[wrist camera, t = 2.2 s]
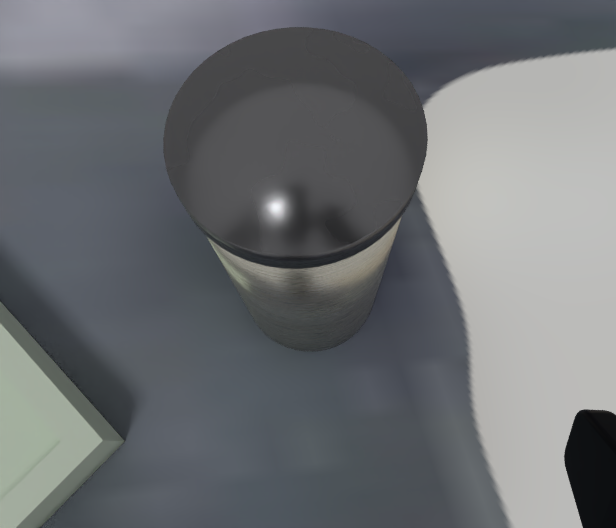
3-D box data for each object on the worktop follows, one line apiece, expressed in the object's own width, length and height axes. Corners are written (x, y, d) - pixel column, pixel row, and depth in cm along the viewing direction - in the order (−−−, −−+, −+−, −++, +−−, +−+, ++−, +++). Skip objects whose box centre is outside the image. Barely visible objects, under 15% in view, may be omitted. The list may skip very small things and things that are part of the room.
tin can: (405, 283, 21) (482, 122, 11) (314, 383, 20) (300, 313, 9) (306, 201, 22) (290, -12, 12) (216, 291, 21) (109, 140, 11)
